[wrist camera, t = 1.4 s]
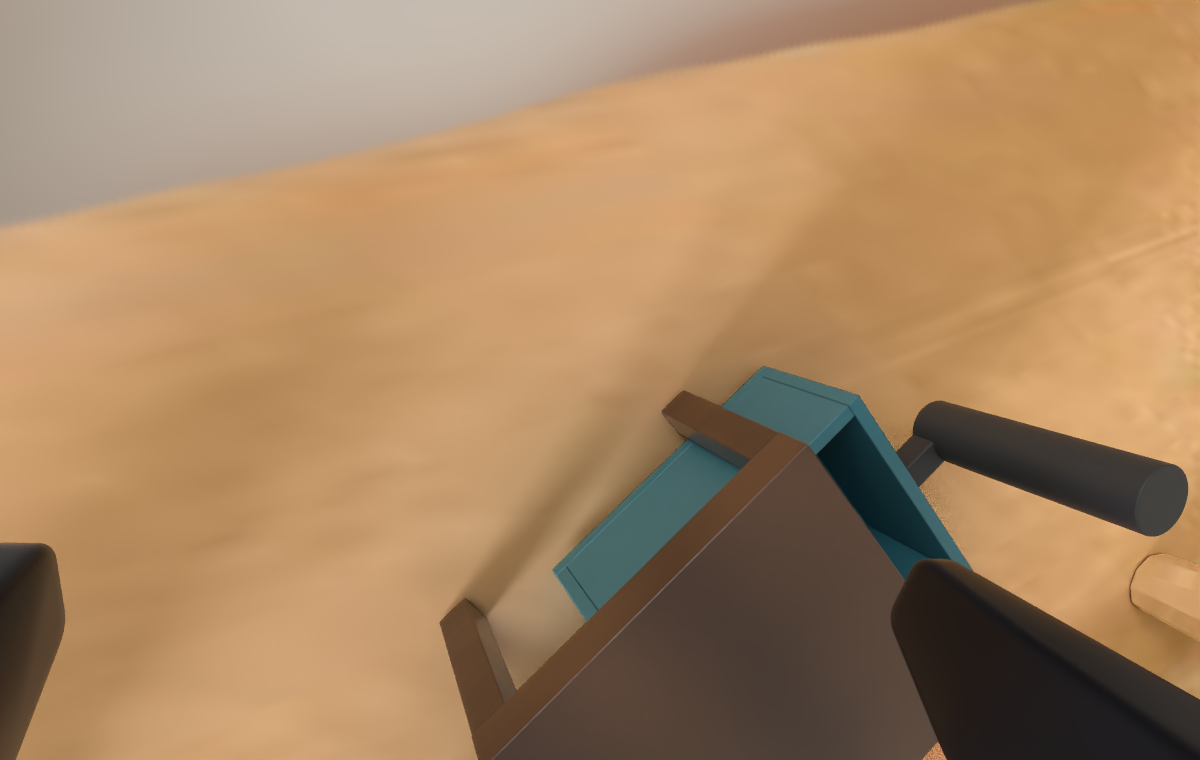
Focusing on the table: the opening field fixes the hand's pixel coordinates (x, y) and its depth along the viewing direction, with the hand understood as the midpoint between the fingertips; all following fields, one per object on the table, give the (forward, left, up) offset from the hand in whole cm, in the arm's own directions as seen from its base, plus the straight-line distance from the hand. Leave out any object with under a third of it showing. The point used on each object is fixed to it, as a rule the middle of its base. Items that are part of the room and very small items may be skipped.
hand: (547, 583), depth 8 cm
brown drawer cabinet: (-13, -5, -17) cm, 22 cm away
